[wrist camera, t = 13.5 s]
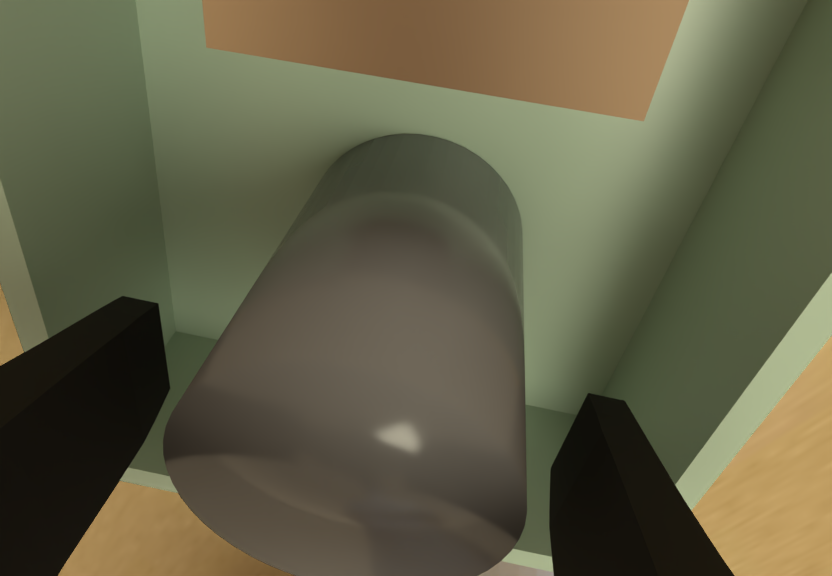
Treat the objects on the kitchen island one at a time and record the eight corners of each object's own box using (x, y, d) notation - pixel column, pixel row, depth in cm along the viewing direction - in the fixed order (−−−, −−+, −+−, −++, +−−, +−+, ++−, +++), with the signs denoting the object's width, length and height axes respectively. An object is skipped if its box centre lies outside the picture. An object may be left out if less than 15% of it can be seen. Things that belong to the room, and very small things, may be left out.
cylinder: (490, 339, 15) (474, 620, 9) (303, 294, 15) (175, 548, 9) (552, 164, 12) (584, 421, 6) (319, 109, 12) (145, 317, 6)
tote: (600, 419, 17) (629, 588, 13) (167, 329, 17) (64, 469, 13) (1107, -519, 7) (1948, -1057, 3) (26, -731, 7) (-634, -1555, 3)
